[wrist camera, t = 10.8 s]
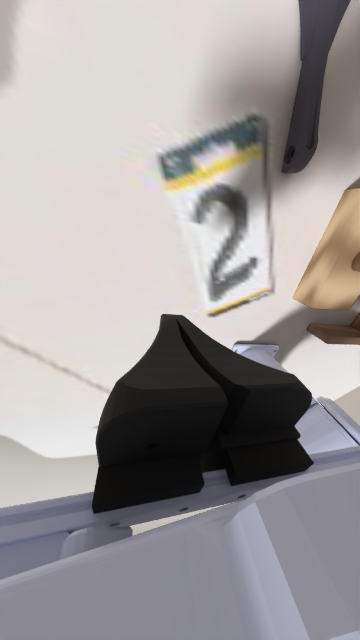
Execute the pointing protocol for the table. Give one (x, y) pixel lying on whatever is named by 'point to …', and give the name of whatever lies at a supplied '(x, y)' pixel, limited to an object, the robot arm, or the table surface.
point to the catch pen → (337, 333)
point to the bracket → (311, 78)
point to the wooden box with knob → (335, 260)
